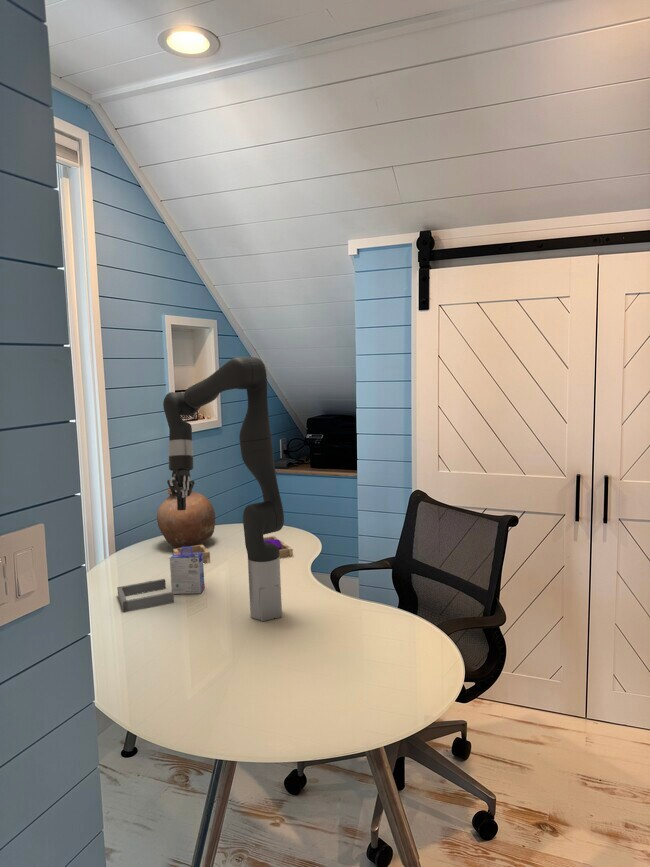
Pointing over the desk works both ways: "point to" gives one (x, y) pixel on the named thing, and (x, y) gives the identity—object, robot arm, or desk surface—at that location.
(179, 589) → the ink cartridge box
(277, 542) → the crystal
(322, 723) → the desk surface
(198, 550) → the wooden tray
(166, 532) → the pottery
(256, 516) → the robot arm
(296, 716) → the desk surface
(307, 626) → the desk surface
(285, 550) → the crystal cradle
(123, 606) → the bay
